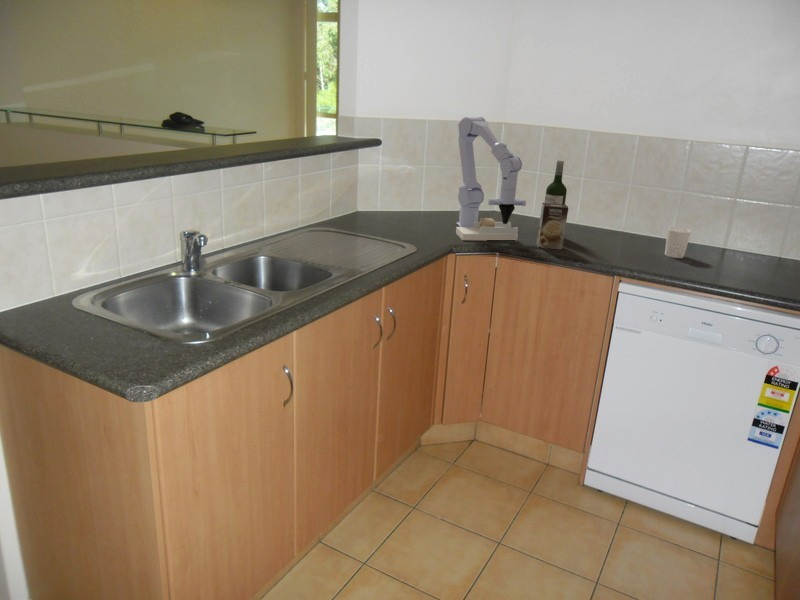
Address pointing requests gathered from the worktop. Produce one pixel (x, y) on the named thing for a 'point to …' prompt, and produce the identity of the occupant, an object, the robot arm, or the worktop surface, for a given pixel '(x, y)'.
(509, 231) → the white tray
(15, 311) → the worktop surface
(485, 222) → the block
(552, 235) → the coffee box
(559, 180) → the wine bottle
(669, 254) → the white cup
